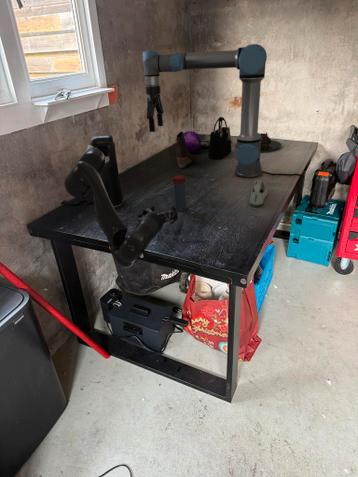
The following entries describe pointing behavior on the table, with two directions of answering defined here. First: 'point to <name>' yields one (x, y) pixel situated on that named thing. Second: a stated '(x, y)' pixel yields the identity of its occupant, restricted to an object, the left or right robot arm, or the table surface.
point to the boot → (182, 151)
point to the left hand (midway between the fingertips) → (163, 208)
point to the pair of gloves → (206, 141)
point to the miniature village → (268, 144)
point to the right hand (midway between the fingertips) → (156, 128)
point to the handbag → (220, 141)
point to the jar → (180, 197)
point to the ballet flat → (258, 193)
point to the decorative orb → (192, 141)
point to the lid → (179, 179)
